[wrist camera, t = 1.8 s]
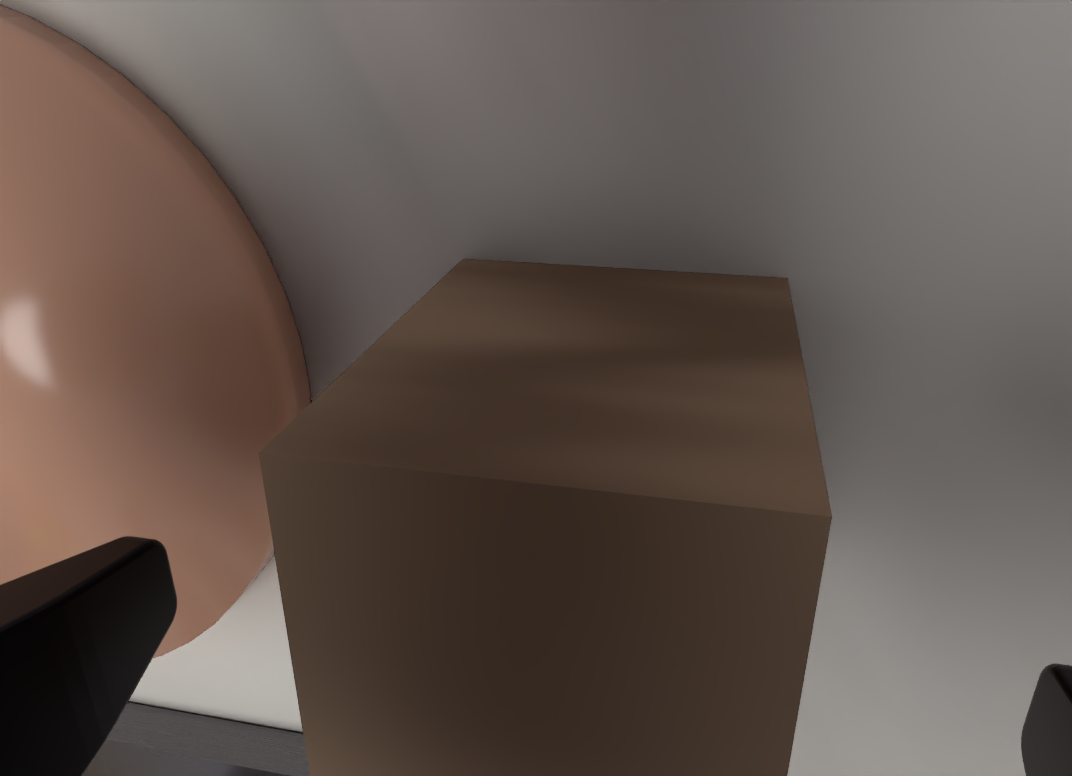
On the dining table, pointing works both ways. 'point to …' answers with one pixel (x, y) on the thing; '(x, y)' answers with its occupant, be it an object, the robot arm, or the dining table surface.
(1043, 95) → the dining table surface
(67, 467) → the dish
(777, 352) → the block
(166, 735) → the balance
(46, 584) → the robot arm
